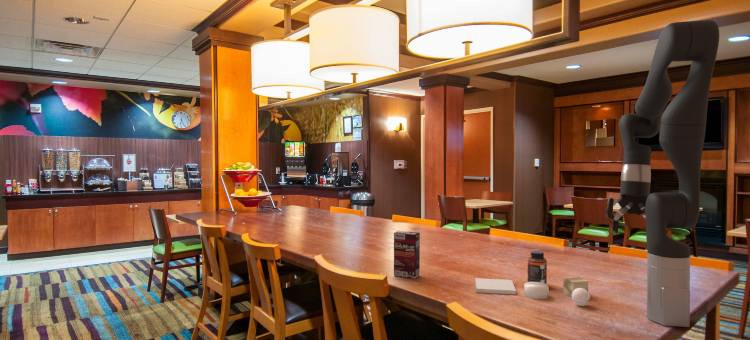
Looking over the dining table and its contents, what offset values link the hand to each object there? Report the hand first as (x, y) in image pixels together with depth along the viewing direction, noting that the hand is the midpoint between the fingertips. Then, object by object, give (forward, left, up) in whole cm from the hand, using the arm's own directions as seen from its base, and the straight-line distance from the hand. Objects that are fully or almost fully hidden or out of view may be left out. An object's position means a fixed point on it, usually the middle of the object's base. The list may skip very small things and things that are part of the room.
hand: (632, 234), depth 128 cm
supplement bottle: (+10, +25, -20) cm, 33 cm away
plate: (+5, +39, -19) cm, 44 cm away
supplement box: (+14, +69, -20) cm, 73 cm away
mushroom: (-8, +16, -20) cm, 27 cm away
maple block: (+2, +15, -20) cm, 25 cm away
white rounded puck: (-1, +27, -20) cm, 33 cm away
